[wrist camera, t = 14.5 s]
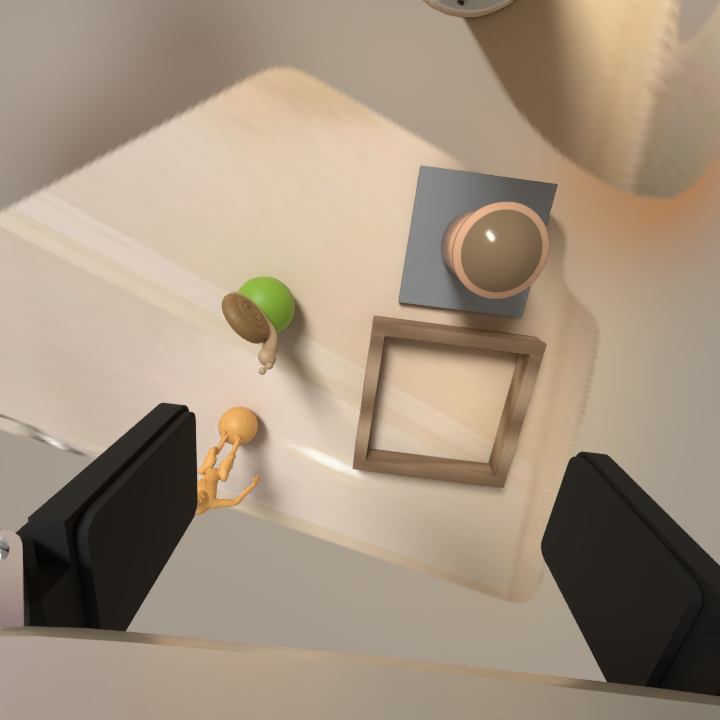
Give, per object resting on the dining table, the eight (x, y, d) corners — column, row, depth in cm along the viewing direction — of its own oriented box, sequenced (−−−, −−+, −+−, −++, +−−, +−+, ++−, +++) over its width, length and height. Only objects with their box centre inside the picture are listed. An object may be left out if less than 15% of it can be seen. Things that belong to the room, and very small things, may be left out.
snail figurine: (277, 345, 41) (240, 393, 29) (233, 296, 39) (177, 328, 28) (317, 313, 39) (295, 351, 28) (273, 261, 38) (232, 279, 27)
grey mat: (420, 166, 35) (421, 165, 34) (554, 184, 35) (557, 184, 34) (398, 300, 39) (398, 302, 38) (519, 316, 39) (521, 318, 38)
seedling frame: (373, 315, 39) (373, 321, 37) (536, 337, 40) (546, 344, 37) (353, 456, 45) (352, 469, 43) (496, 473, 45) (503, 487, 43)
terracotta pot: (444, 200, 35) (465, 195, 27) (519, 211, 35) (561, 209, 28) (430, 277, 37) (445, 292, 30) (500, 287, 37) (534, 304, 30)
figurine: (285, 414, 43) (254, 483, 32) (270, 457, 45) (236, 537, 34) (211, 389, 43) (153, 451, 31) (199, 435, 45) (141, 508, 33)
